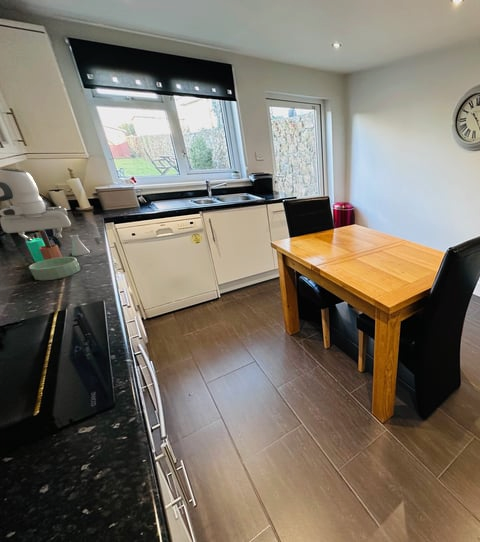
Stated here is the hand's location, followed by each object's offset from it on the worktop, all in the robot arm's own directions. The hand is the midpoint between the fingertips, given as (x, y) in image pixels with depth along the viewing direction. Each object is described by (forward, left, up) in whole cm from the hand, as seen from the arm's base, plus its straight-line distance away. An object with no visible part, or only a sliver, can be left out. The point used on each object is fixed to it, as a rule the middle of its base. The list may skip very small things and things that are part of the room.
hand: (44, 239), depth 126 cm
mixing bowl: (+2, -15, -12) cm, 20 cm away
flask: (+8, +12, -13) cm, 19 cm away
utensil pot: (0, 0, -12) cm, 13 cm away
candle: (-5, +10, -13) cm, 17 cm away
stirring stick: (0, 0, -12) cm, 12 cm away
